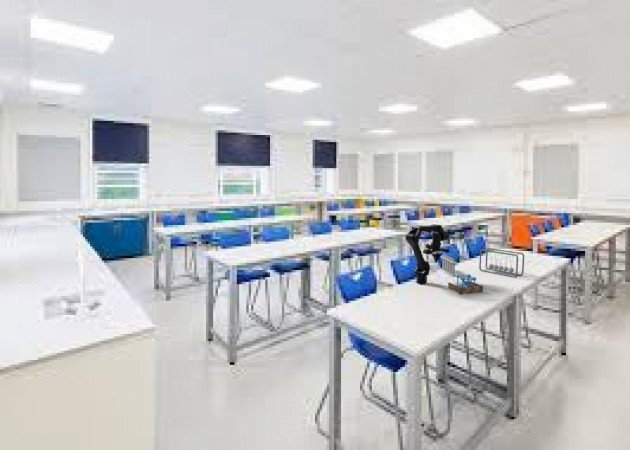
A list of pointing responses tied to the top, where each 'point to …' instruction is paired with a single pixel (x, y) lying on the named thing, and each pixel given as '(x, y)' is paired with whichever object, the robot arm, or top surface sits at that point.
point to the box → (466, 288)
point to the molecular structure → (466, 280)
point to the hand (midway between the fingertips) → (435, 262)
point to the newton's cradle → (501, 263)
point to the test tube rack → (448, 265)
